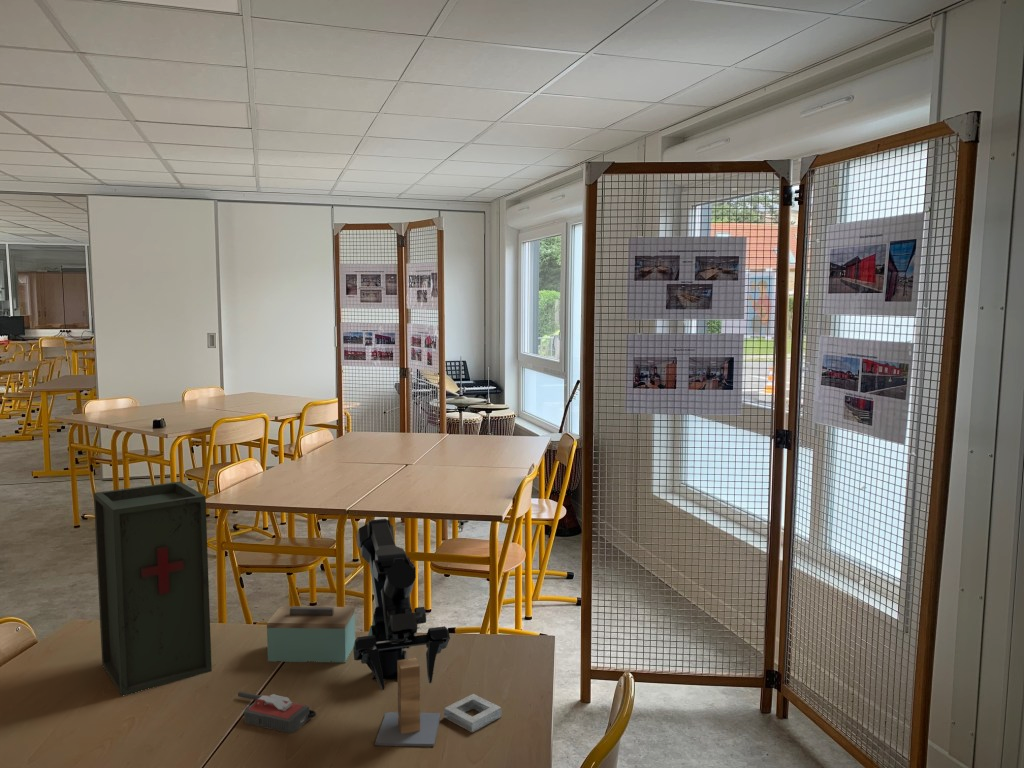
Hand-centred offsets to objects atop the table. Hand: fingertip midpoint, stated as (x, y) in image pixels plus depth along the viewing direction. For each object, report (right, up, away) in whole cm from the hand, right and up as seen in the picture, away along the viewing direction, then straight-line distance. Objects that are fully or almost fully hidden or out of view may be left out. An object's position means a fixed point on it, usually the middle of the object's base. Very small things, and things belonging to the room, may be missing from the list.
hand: (407, 686), depth 151 cm
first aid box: (-60, -6, +24) cm, 65 cm away
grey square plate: (0, -8, -1) cm, 8 cm away
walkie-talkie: (-29, -8, +5) cm, 30 cm away
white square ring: (+13, -8, +4) cm, 15 cm away
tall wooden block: (0, -8, -1) cm, 8 cm away
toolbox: (-27, -5, +33) cm, 43 cm away
